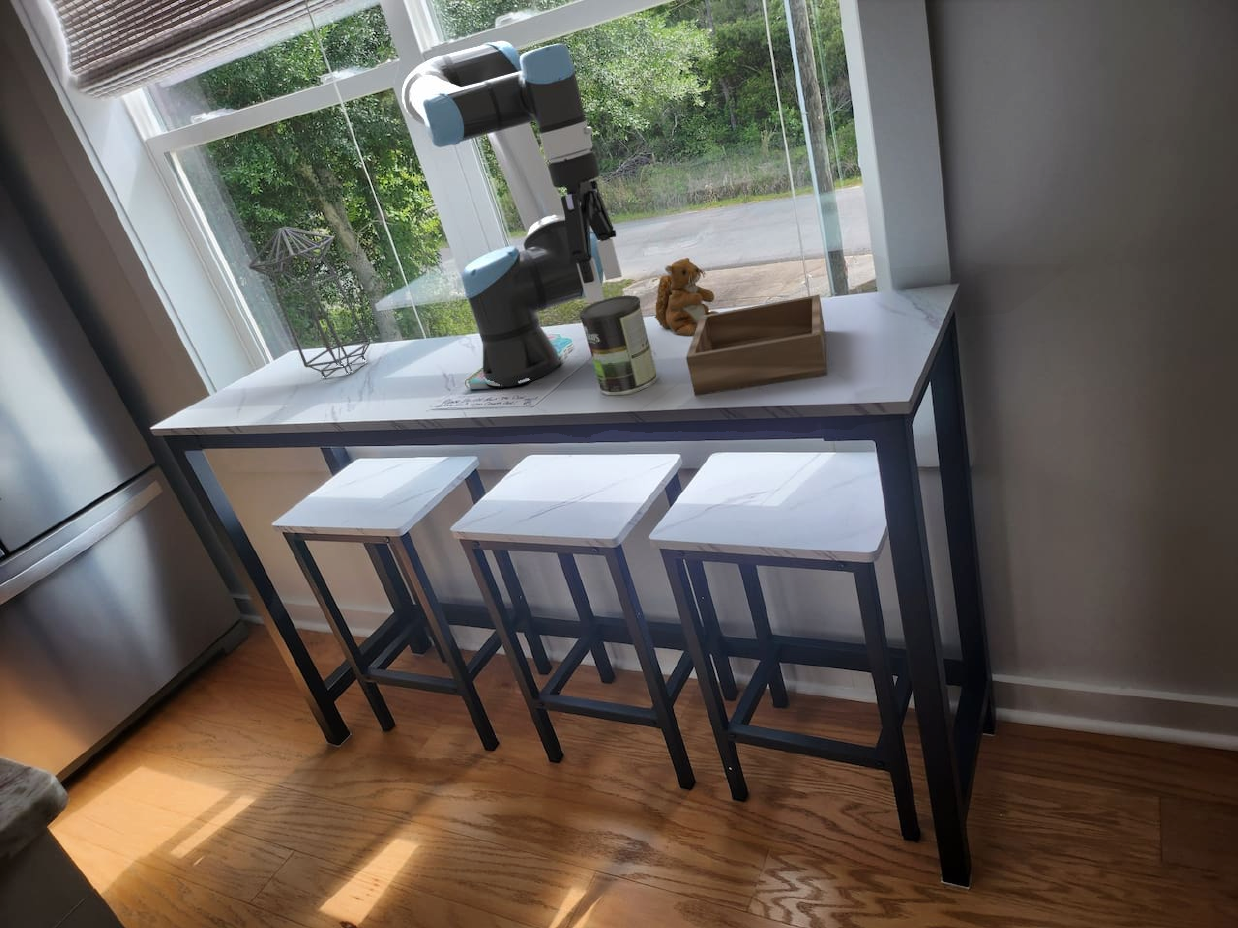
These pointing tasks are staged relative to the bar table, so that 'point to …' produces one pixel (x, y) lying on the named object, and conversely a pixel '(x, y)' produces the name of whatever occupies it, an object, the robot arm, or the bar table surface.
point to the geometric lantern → (294, 235)
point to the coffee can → (619, 345)
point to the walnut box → (758, 346)
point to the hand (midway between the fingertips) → (605, 289)
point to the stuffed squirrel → (682, 298)
